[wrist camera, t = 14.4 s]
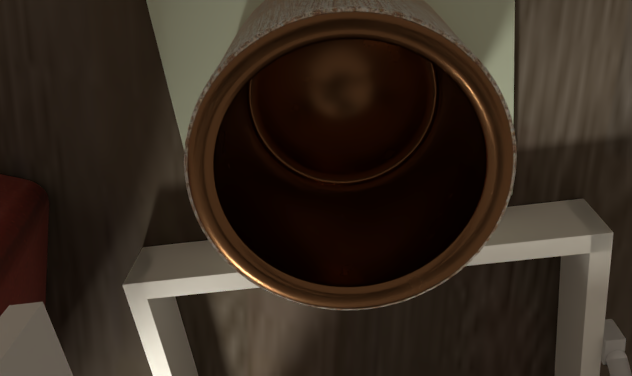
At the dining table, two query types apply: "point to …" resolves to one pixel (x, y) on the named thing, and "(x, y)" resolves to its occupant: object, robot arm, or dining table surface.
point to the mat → (238, 3)
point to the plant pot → (22, 242)
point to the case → (504, 245)
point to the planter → (349, 152)
